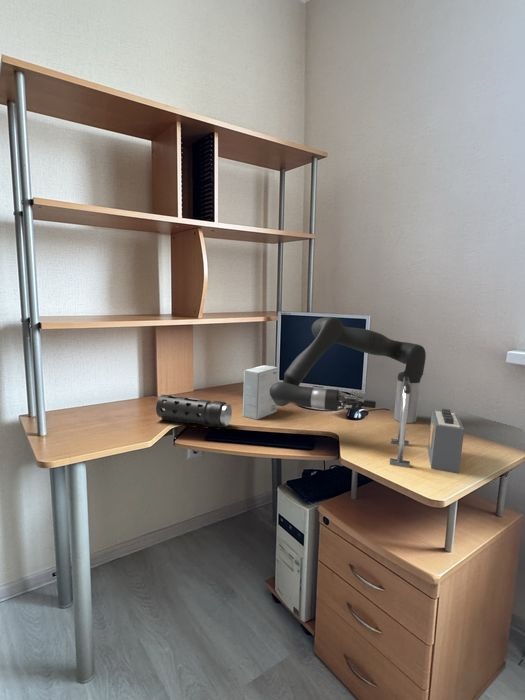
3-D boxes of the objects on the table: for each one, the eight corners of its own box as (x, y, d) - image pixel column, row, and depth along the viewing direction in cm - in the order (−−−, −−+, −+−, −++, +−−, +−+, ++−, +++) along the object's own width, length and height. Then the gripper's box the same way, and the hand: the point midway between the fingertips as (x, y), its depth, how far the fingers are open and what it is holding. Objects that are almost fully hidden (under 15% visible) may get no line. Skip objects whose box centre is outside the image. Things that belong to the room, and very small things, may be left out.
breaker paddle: (429, 442, 145) (431, 422, 144) (445, 444, 143) (447, 424, 142) (430, 448, 139) (433, 427, 138) (447, 450, 137) (449, 429, 136)
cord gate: (391, 441, 157) (397, 374, 153) (408, 443, 155) (415, 376, 151) (389, 464, 136) (397, 387, 132) (409, 467, 134) (417, 389, 130)
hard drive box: (262, 408, 190) (265, 364, 188) (277, 412, 186) (279, 367, 183) (241, 416, 178) (243, 369, 175) (256, 420, 173) (259, 372, 171)
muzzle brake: (167, 416, 173) (168, 391, 172) (232, 425, 166) (233, 400, 164) (155, 423, 164) (155, 396, 163) (222, 433, 156) (223, 406, 155)
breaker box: (427, 448, 151) (432, 405, 149) (452, 452, 149) (457, 408, 146) (431, 468, 134) (436, 419, 132) (458, 473, 132) (465, 423, 129)
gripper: (322, 393, 145) (375, 398, 140) (328, 384, 157) (377, 389, 152) (321, 414, 146) (373, 420, 141) (327, 404, 158) (375, 409, 153)
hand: (375, 404), depth 146 cm, fingers closed
